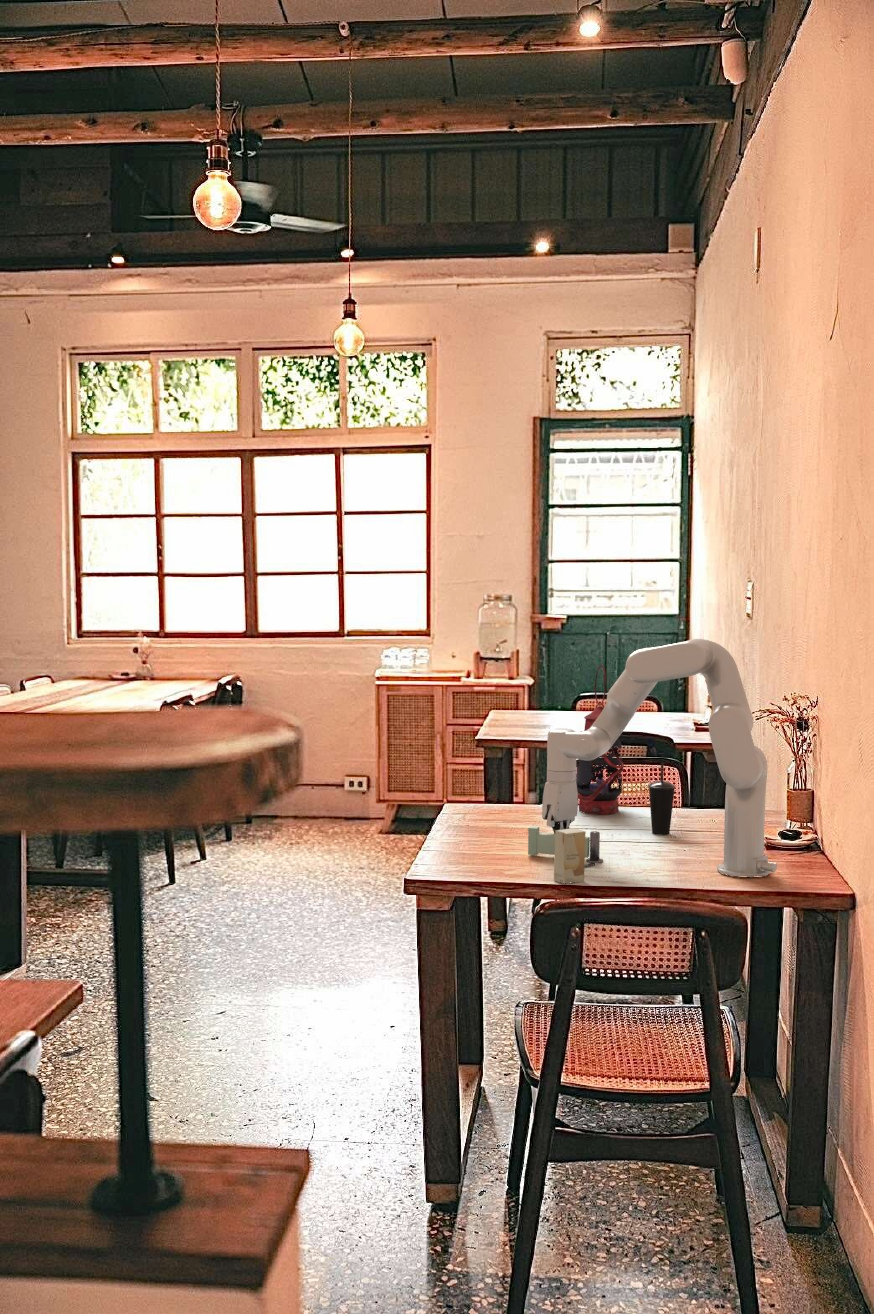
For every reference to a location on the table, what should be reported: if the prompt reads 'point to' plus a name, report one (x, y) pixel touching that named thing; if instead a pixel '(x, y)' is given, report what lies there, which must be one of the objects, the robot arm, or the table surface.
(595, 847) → the dark grey rounded knob
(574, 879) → the skincare box
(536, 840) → the gate
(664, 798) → the drinking cup
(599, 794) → the lantern
